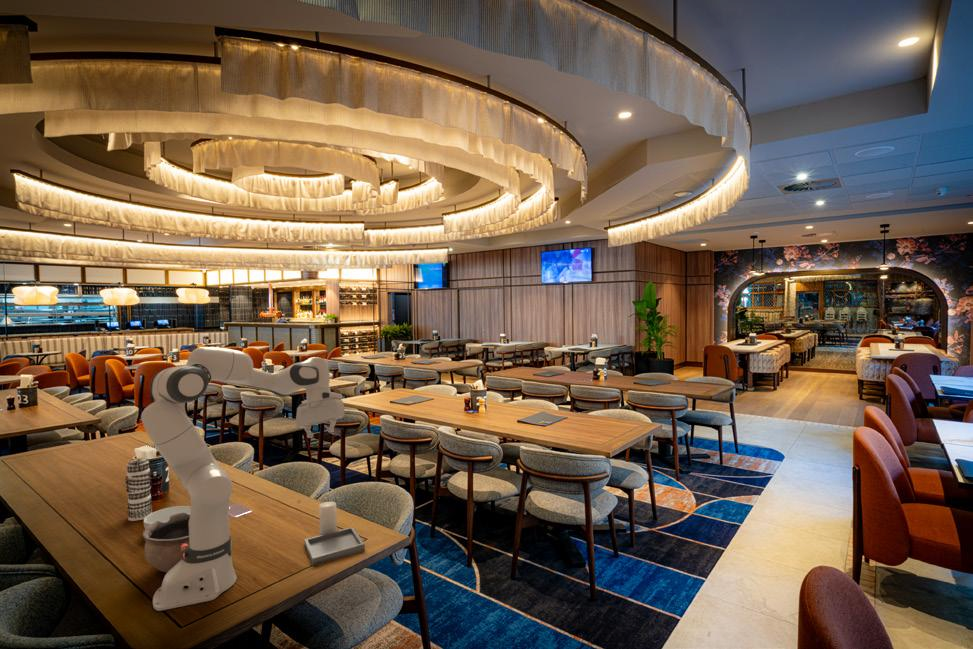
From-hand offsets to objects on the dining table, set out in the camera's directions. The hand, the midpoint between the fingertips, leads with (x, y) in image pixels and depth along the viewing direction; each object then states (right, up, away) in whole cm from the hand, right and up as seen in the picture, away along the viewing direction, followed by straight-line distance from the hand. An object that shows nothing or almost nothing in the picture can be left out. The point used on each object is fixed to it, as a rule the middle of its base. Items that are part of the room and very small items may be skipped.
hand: (320, 434), depth 174 cm
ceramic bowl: (-43, -43, -13) cm, 62 cm away
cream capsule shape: (0, -41, +10) cm, 42 cm away
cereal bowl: (-66, -42, +13) cm, 79 cm away
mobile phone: (-49, -42, +32) cm, 71 cm away
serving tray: (+6, -41, -3) cm, 42 cm away
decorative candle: (-88, -42, +28) cm, 102 cm away
